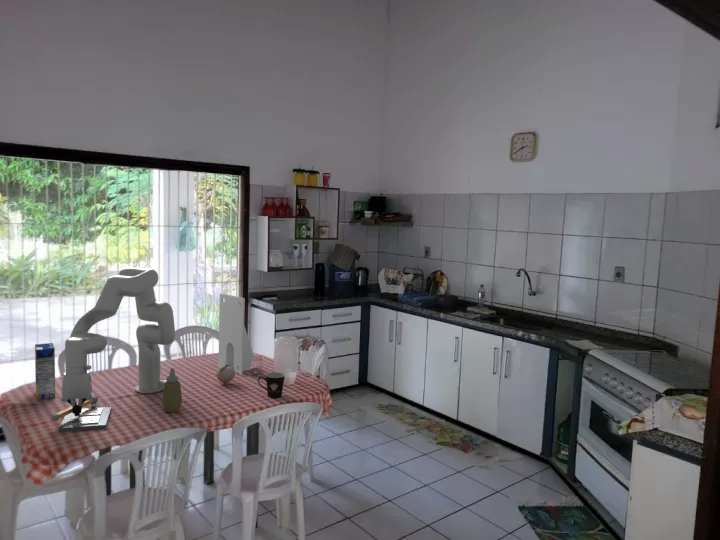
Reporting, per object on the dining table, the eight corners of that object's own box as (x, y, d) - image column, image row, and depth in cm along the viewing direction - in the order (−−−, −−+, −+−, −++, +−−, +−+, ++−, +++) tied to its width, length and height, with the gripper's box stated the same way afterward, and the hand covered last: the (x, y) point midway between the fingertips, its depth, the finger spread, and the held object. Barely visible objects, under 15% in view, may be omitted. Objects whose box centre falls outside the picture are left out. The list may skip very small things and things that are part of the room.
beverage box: (37, 400, 241) (36, 350, 239) (35, 392, 251) (34, 344, 248) (55, 397, 245) (54, 348, 243) (53, 390, 254) (52, 343, 252)
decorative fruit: (230, 387, 269) (230, 367, 268) (214, 386, 271) (214, 365, 270) (237, 381, 278) (238, 362, 277) (222, 380, 280) (222, 360, 279)
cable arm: (99, 400, 234) (99, 396, 234) (56, 421, 210) (56, 416, 210) (92, 399, 235) (92, 395, 235) (48, 420, 211) (48, 415, 211)
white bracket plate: (263, 369, 301) (265, 296, 297) (241, 374, 290) (243, 298, 286) (239, 362, 314) (241, 291, 310) (218, 366, 303) (219, 293, 299)
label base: (111, 407, 236) (111, 400, 236) (105, 428, 215) (105, 420, 214) (69, 410, 231) (69, 402, 231) (59, 432, 210) (58, 423, 209)
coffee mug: (287, 395, 262) (288, 374, 261) (277, 400, 254) (278, 378, 253) (266, 390, 267) (267, 370, 266) (256, 395, 259) (256, 374, 258)
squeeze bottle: (164, 406, 240) (164, 365, 238) (184, 407, 241) (184, 366, 239) (159, 413, 232) (159, 371, 230) (179, 413, 233) (179, 371, 231)
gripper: (98, 365, 223) (99, 410, 225) (56, 367, 218) (57, 413, 220) (96, 371, 216) (97, 416, 218) (52, 373, 211) (54, 420, 213)
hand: (77, 414), depth 219 cm, fingers closed
